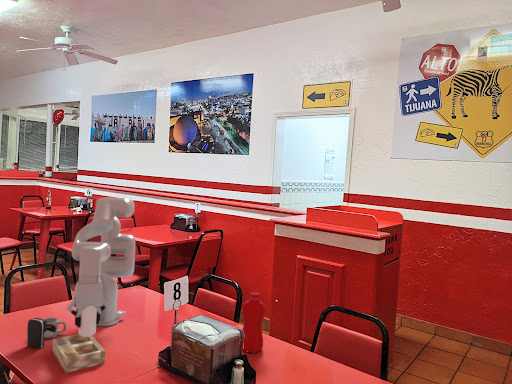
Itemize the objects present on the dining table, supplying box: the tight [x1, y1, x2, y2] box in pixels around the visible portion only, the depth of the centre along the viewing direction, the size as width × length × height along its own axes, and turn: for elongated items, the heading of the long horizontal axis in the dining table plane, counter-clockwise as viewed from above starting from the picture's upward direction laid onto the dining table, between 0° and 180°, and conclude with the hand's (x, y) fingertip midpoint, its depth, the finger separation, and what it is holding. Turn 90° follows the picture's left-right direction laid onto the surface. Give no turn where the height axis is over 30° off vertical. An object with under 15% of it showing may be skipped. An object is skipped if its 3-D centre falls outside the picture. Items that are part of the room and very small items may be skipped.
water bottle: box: [241, 292, 266, 354], centre depth 178 cm, size 9×11×25 cm
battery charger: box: [26, 317, 47, 349], centre depth 166 cm, size 7×4×11 cm, turn 74°
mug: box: [43, 317, 67, 339], centre depth 178 cm, size 10×7×7 cm, turn 112°
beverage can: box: [77, 306, 97, 337], centre depth 156 cm, size 6×6×12 cm
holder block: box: [51, 333, 106, 374], centre depth 159 cm, size 14×20×5 cm
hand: (87, 324), depth 156 cm, fingers closed on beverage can, 6 cm apart
